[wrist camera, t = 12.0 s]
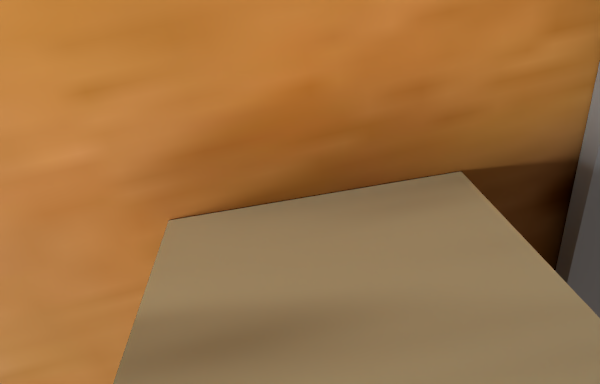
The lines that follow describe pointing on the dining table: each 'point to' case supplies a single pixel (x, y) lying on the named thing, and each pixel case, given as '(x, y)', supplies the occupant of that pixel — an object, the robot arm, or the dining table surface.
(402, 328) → the sage cube
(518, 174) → the dining table surface
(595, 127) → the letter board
